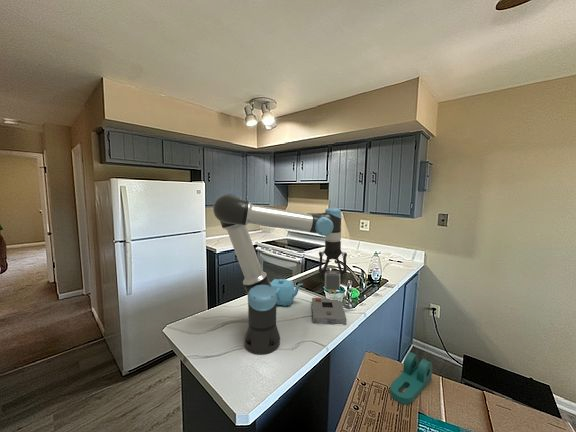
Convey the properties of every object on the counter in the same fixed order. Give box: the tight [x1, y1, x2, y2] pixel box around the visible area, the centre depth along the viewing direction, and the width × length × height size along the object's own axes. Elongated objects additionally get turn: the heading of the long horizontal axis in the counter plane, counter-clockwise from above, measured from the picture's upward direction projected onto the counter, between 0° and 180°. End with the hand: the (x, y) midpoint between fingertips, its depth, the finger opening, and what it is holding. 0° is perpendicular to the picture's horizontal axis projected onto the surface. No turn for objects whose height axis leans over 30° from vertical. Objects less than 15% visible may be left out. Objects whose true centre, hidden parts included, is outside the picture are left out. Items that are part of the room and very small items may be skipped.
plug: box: [326, 270, 340, 295], centre depth 123 cm, size 7×6×10 cm
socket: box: [311, 297, 348, 326], centre depth 131 cm, size 22×16×4 cm
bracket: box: [389, 352, 433, 406], centre depth 83 cm, size 18×7×8 cm, turn 130°
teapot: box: [269, 278, 304, 307], centre depth 143 cm, size 18×16×14 cm
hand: (332, 285), depth 123 cm, fingers closed on plug, 6 cm apart
